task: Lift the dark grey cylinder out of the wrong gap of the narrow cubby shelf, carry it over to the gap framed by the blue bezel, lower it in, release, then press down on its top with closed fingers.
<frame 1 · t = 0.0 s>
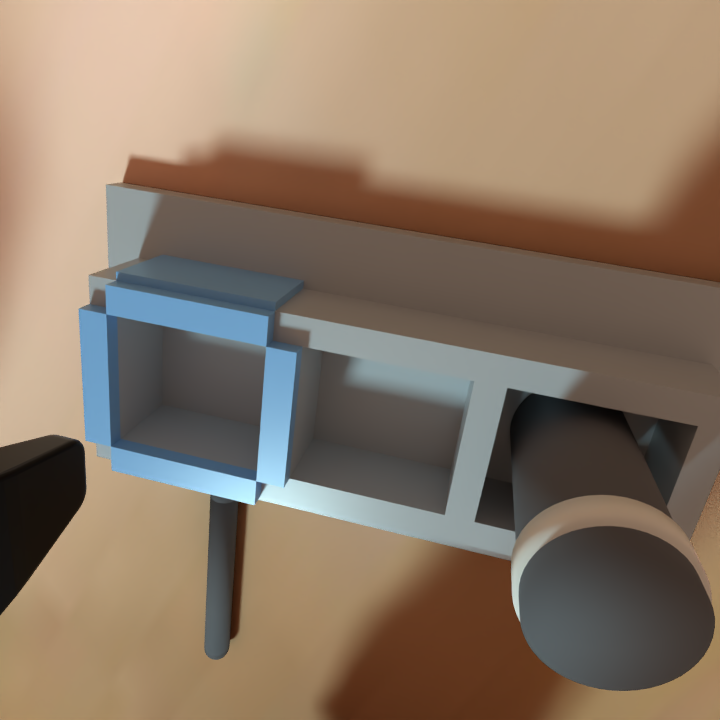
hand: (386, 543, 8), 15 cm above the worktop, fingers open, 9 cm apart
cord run: (225, 566, 28), on the worktop
dark grey cylinder: (567, 433, 21), point 1 cm above the worktop, touching narrow cubby shelf
narrow cubby shelf: (394, 385, 23), on the worktop
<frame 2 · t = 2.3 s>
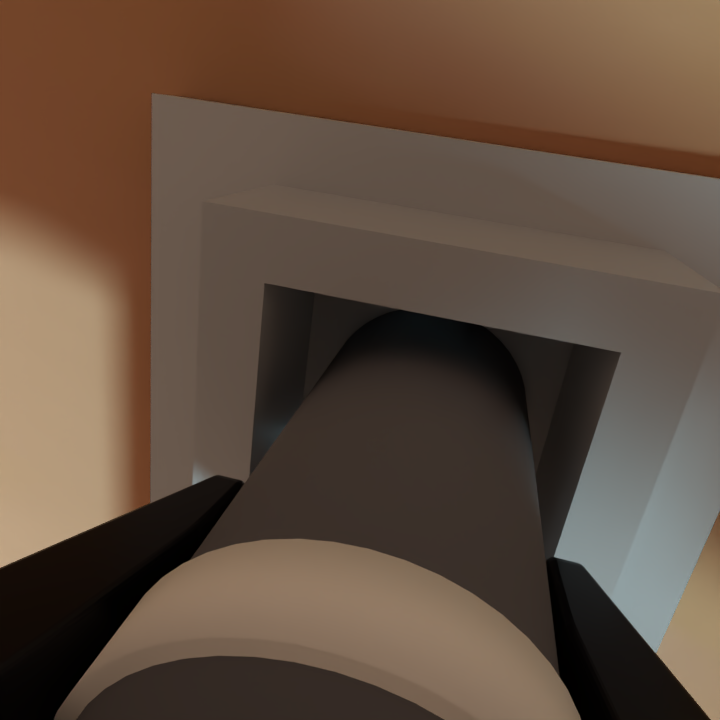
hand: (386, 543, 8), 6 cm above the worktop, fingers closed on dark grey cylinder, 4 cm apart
dark grey cylinder: (423, 402, 12), point 1 cm above the worktop, touching narrow cubby shelf, gripper
narrow cubby shelf: (383, 609, 15), on the worktop
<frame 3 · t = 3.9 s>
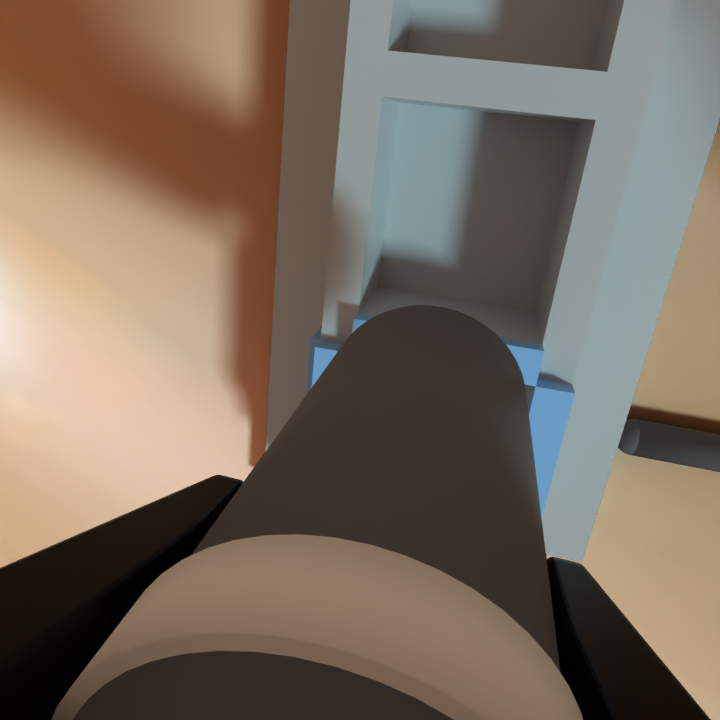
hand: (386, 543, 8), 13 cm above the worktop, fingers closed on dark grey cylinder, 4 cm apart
dark grey cylinder: (423, 400, 12), point 9 cm above the worktop, touching gripper
narrow cubby shelf: (471, 207, 19), on the worktop
when the fingers open (7 cm above the worktop, at t = 5.9 s): dark grey cylinder drops 2 cm, resting on narrow cubby shelf.
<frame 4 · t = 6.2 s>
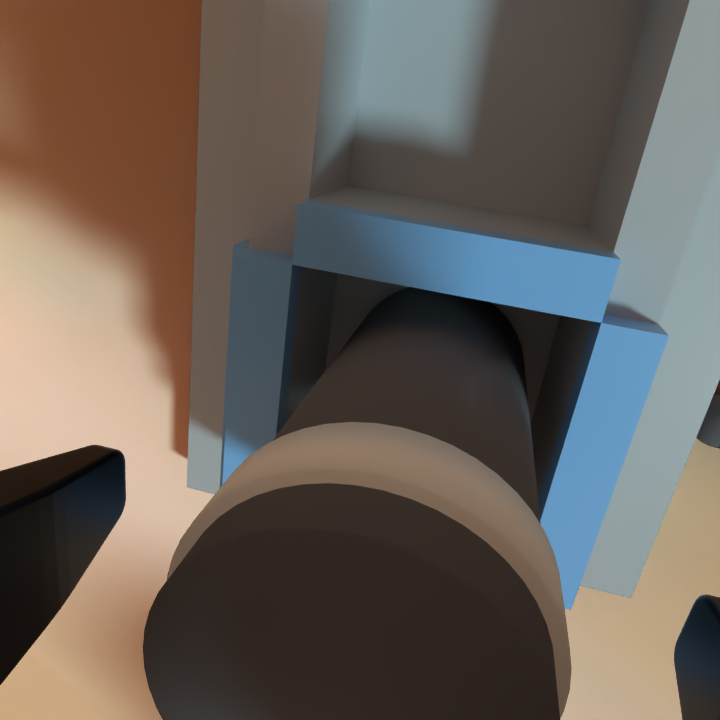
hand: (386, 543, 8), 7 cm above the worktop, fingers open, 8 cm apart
dark grey cylinder: (435, 368, 14), point 1 cm above the worktop, touching narrow cubby shelf
narrow cubby shelf: (493, 64, 12), on the worktop
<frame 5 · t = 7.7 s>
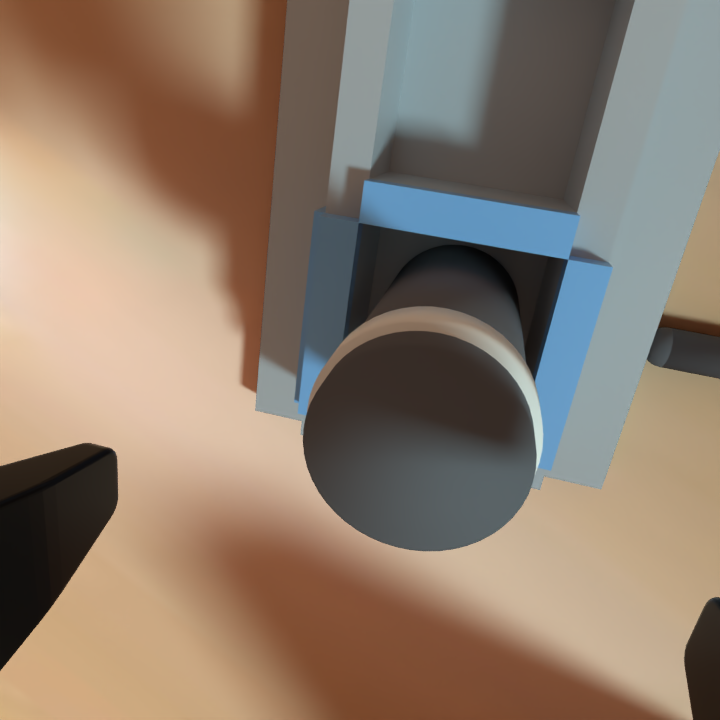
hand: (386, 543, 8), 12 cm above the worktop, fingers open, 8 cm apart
dark grey cylinder: (452, 309, 18), point 1 cm above the worktop, touching narrow cubby shelf
narrow cubby shelf: (495, 82, 17), on the worktop
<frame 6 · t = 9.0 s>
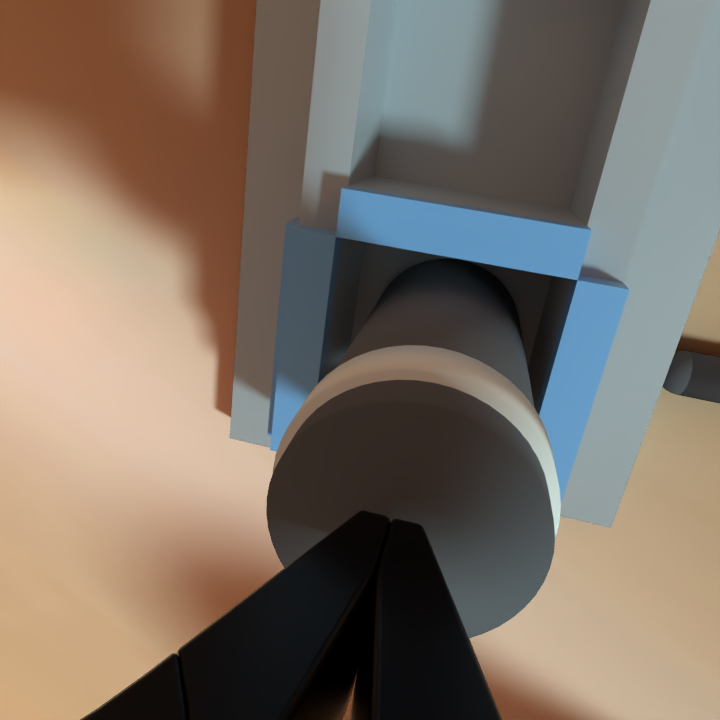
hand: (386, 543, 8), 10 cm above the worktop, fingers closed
dark grey cylinder: (445, 330, 16), point 1 cm above the worktop, touching narrow cubby shelf
narrow cubby shelf: (493, 77, 15), on the worktop
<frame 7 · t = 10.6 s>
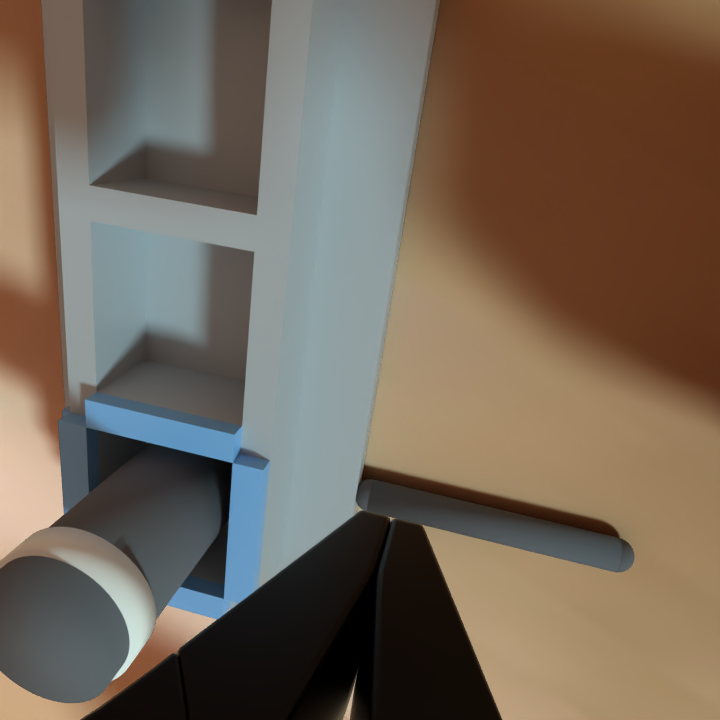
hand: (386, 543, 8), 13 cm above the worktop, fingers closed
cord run: (489, 514, 22), on the worktop
dark grey cylinder: (207, 461, 23), point 1 cm above the worktop, touching narrow cubby shelf
narrow cubby shelf: (224, 294, 21), on the worktop
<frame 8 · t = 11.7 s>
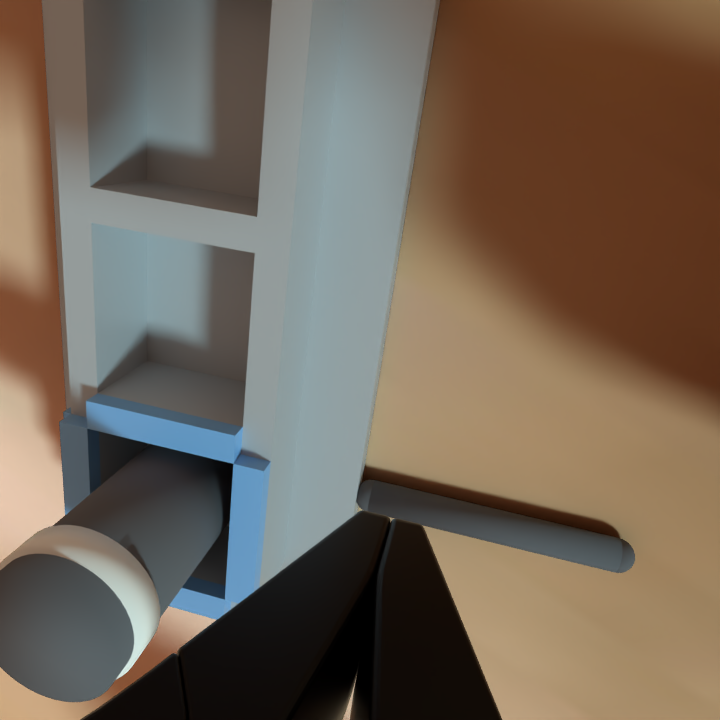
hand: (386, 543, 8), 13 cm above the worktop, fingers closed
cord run: (490, 514, 22), on the worktop
dark grey cylinder: (207, 462, 23), point 1 cm above the worktop, touching narrow cubby shelf
narrow cubby shelf: (225, 295, 21), on the worktop
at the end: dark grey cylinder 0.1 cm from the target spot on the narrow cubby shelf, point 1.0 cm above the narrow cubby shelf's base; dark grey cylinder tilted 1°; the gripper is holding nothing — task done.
